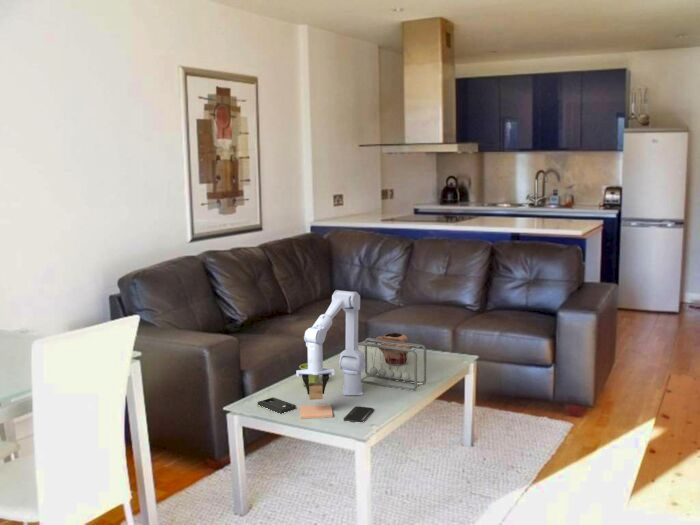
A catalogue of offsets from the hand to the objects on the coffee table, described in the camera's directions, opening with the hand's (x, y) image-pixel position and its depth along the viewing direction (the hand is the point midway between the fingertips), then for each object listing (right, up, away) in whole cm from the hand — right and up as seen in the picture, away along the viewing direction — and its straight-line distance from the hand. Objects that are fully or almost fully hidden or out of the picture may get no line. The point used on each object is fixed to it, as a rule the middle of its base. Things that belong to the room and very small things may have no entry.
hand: (315, 393), depth 278 cm
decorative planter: (+33, +2, +67) cm, 75 cm away
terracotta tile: (0, -8, +1) cm, 8 cm away
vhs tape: (-16, -8, +8) cm, 19 cm away
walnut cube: (0, -2, 0) cm, 2 cm away
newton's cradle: (+30, -2, +36) cm, 47 cm away
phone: (+16, -8, -2) cm, 19 cm away
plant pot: (-4, -3, +35) cm, 35 cm away
